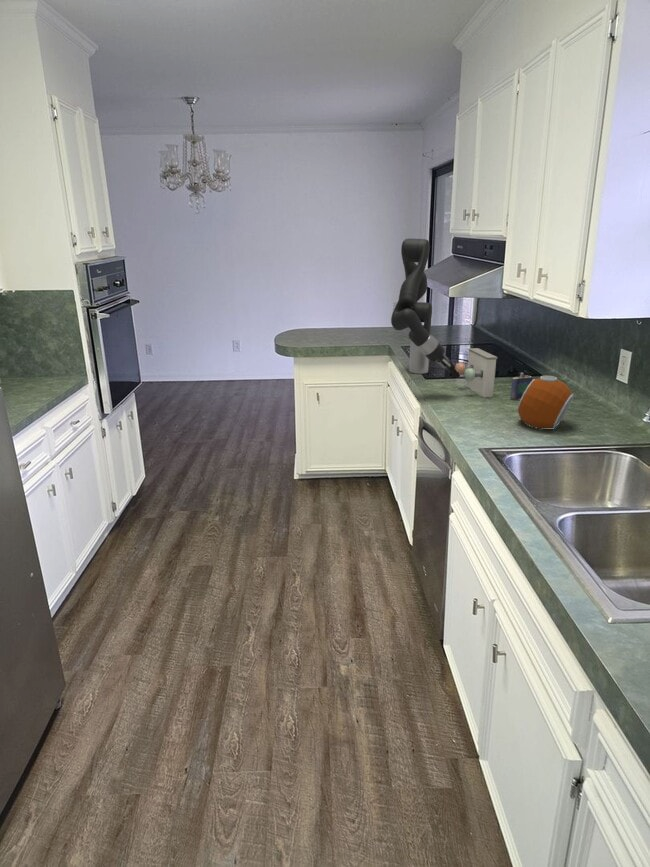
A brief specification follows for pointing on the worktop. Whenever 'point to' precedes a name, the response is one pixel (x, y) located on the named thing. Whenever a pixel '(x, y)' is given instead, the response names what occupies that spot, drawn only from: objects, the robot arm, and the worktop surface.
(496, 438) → the worktop surface
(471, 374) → the sage button
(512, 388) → the flask
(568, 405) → the alarm clock
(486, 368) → the panel
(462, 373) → the terracotta button
